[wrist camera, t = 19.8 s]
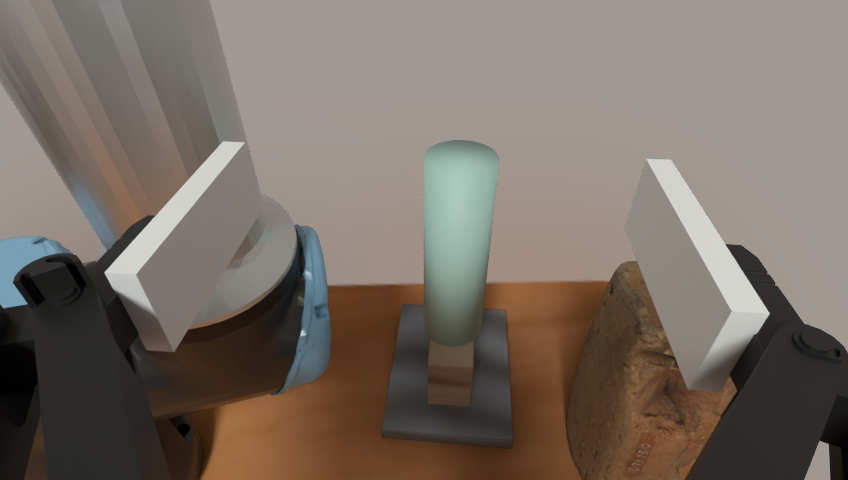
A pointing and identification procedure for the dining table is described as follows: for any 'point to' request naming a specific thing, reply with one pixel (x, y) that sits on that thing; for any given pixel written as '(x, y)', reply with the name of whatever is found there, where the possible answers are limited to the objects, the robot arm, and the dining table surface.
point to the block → (635, 393)
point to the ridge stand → (450, 385)
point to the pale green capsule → (457, 237)
